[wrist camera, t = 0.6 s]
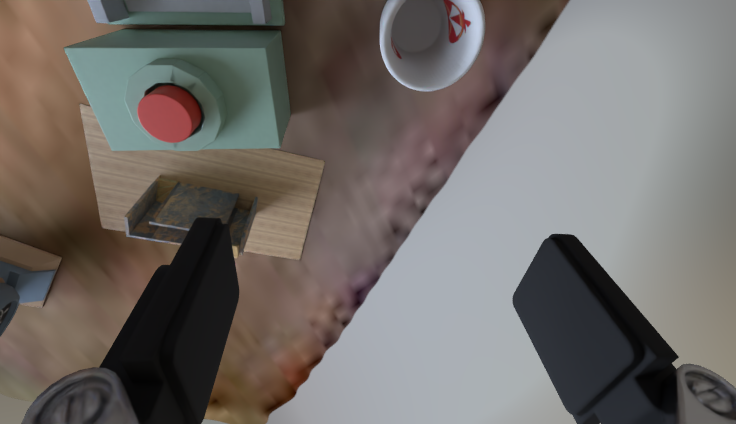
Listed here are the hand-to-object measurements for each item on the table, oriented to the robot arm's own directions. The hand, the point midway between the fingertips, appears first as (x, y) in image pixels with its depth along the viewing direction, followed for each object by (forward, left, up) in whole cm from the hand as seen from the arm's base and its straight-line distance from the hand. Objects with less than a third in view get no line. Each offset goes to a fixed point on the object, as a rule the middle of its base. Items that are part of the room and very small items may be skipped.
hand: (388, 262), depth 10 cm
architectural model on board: (+16, -18, -29) cm, 37 cm away
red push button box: (+2, -14, -28) cm, 32 cm away
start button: (+2, -14, -19) cm, 23 cm away
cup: (-4, +5, -29) cm, 29 cm away
